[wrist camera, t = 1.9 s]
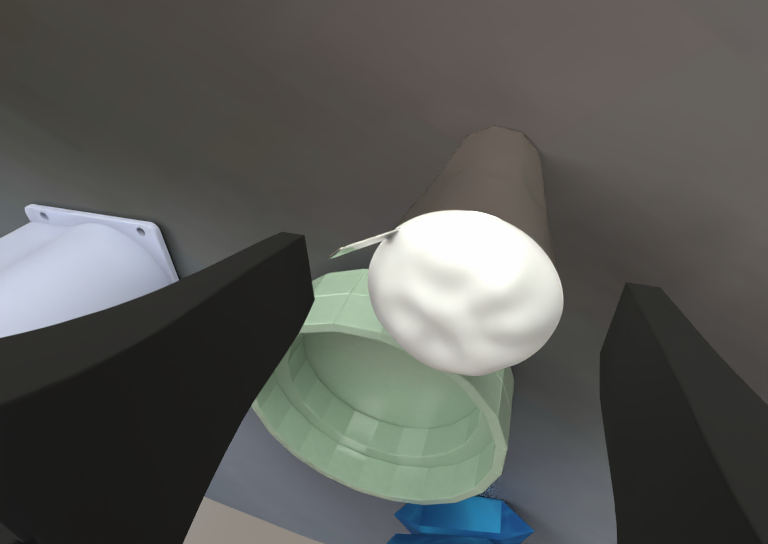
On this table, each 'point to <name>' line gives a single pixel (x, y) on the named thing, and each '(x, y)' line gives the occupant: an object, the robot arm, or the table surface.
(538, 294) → the milkshake
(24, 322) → the robot arm
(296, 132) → the table surface
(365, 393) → the bowl
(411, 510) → the crystal
